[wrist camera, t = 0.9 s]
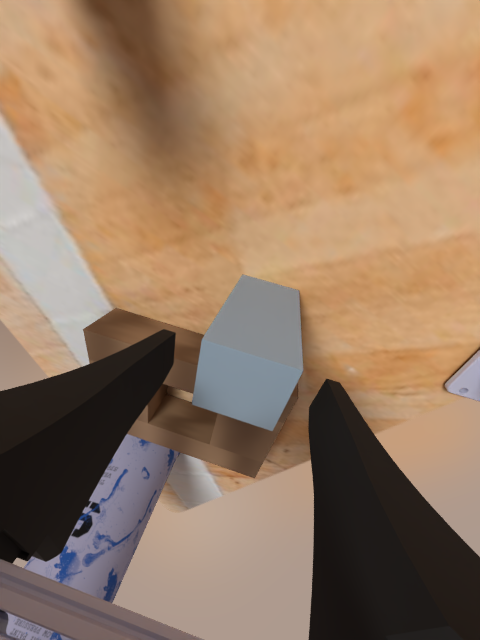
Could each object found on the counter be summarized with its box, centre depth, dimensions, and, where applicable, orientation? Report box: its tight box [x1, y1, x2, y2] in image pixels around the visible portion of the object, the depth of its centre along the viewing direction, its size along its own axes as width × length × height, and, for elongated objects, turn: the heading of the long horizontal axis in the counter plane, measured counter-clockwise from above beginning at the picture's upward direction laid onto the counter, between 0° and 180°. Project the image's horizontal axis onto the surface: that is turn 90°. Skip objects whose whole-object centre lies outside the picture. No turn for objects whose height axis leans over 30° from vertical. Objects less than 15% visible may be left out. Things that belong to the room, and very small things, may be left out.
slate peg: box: [192, 275, 303, 431], centre depth 13 cm, size 4×4×8 cm
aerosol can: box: [6, 434, 180, 640], centre depth 20 cm, size 8×8×20 cm
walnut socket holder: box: [83, 308, 298, 478], centre depth 20 cm, size 16×12×4 cm
